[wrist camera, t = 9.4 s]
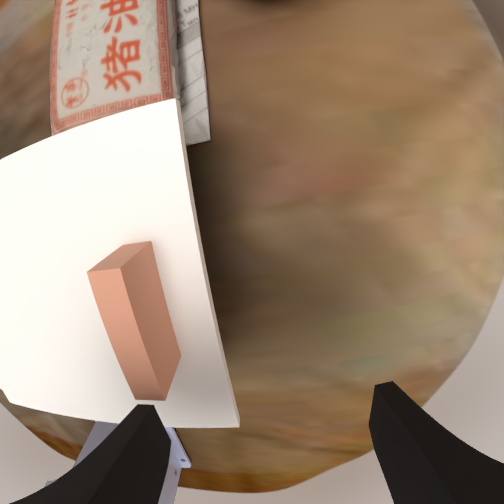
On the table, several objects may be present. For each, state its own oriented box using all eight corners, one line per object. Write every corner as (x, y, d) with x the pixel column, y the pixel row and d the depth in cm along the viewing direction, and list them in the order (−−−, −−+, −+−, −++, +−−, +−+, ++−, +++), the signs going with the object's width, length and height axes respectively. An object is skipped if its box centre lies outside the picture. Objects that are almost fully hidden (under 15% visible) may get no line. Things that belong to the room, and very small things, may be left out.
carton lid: (239, 418, 14) (235, 471, 11) (14, 397, 15) (-9, 426, 12) (179, 100, 10) (147, 80, 7) (-60, 197, 11) (-98, 209, 8)
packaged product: (41, -62, 7) (183, -115, 7) (72, -37, 12) (195, -77, 11) (22, 181, 13) (199, 139, 12) (68, 172, 17) (215, 143, 17)
